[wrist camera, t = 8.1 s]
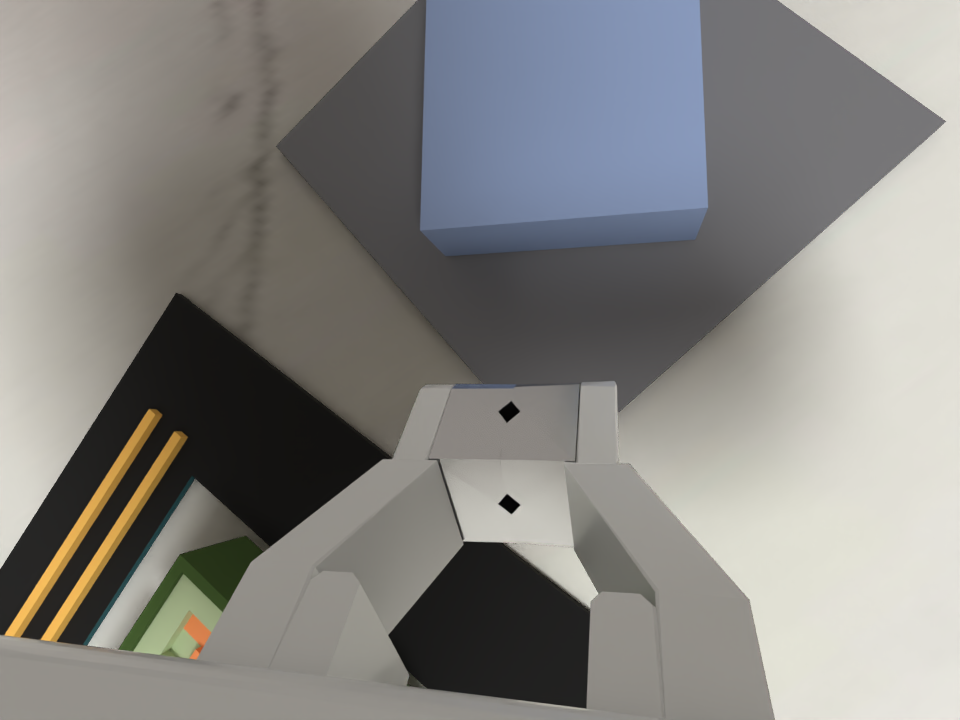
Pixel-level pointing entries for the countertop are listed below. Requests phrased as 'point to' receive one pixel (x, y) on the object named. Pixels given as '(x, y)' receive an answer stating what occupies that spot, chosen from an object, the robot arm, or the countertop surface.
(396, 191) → the rubber mat
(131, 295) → the countertop surface
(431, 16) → the card deck
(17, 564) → the sushi
